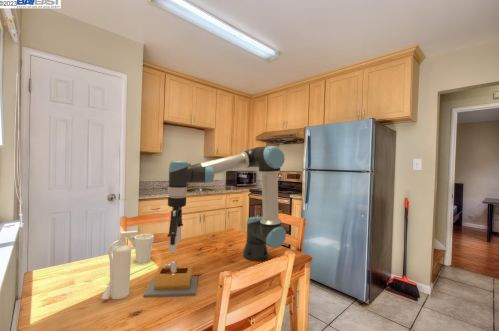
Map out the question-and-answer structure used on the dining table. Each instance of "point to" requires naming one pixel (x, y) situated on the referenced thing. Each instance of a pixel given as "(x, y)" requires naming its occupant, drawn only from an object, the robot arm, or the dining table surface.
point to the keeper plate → (162, 293)
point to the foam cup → (143, 247)
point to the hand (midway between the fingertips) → (175, 246)
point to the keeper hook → (172, 267)
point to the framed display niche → (173, 278)
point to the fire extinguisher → (120, 267)
